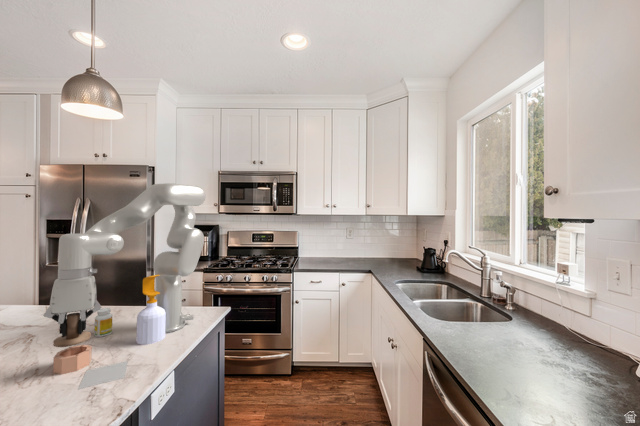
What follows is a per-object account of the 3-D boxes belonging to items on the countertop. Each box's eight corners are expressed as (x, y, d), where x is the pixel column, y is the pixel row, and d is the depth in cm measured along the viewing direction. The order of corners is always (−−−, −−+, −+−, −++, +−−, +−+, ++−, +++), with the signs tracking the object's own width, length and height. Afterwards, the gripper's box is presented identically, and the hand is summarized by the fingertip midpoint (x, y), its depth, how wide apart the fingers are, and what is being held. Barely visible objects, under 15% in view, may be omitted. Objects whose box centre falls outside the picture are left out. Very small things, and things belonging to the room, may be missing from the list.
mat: (127, 362, 84) (127, 360, 84) (124, 379, 76) (124, 377, 76) (86, 372, 79) (86, 370, 79) (78, 391, 70) (78, 389, 70)
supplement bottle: (90, 337, 101) (91, 312, 101) (101, 331, 106) (101, 307, 106) (105, 337, 101) (106, 312, 101) (115, 331, 107) (115, 307, 107)
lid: (93, 332, 87) (94, 307, 87) (87, 343, 80) (88, 316, 80) (58, 338, 82) (59, 312, 82) (48, 349, 75) (49, 321, 75)
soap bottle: (144, 348, 93) (145, 278, 93) (131, 341, 98) (133, 275, 98) (169, 338, 101) (171, 274, 101) (157, 332, 106) (158, 271, 106)
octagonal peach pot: (92, 358, 87) (93, 342, 87) (87, 370, 80) (87, 353, 80) (59, 365, 82) (59, 348, 83) (50, 378, 76) (50, 361, 76)
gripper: (110, 269, 89) (108, 324, 89) (42, 274, 80) (40, 335, 80) (106, 273, 82) (104, 333, 82) (32, 279, 74) (29, 345, 74)
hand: (72, 333), depth 81 cm, fingers closed on lid, 3 cm apart
